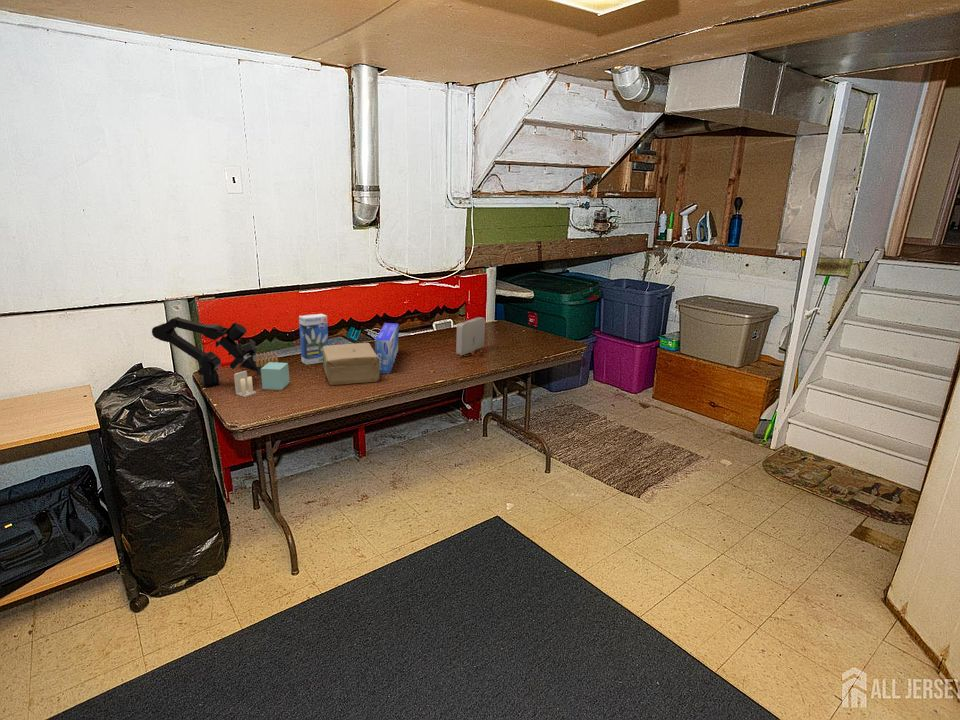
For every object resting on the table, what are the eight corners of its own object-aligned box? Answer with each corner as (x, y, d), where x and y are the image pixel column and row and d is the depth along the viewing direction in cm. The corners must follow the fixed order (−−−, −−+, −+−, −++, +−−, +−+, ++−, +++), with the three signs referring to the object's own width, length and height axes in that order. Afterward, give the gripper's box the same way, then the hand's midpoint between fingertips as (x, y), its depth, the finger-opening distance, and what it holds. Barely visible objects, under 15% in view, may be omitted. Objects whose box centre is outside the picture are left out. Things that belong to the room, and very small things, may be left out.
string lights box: (306, 365, 289) (303, 318, 282) (300, 361, 295) (298, 315, 287) (329, 361, 298) (327, 315, 290) (323, 357, 303) (321, 312, 296)
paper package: (322, 369, 284) (321, 344, 280) (371, 366, 293) (371, 341, 288) (326, 387, 260) (325, 359, 256) (380, 382, 268) (379, 356, 264)
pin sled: (236, 394, 243) (233, 374, 240) (247, 391, 248) (245, 370, 246) (245, 397, 241) (243, 376, 238) (256, 393, 246) (254, 372, 243)
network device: (464, 359, 311) (465, 325, 305) (452, 356, 315) (452, 323, 309) (487, 349, 332) (488, 318, 326) (475, 347, 336) (476, 315, 330)
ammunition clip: (278, 372, 276) (276, 350, 273) (279, 373, 275) (277, 351, 271) (256, 375, 271) (254, 352, 267) (257, 376, 269) (255, 353, 266)
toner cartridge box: (390, 374, 281) (390, 340, 276) (374, 373, 281) (374, 339, 275) (399, 353, 318) (398, 322, 313) (384, 352, 318) (384, 322, 312)
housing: (262, 389, 251) (260, 368, 248) (270, 381, 260) (269, 362, 257) (281, 389, 251) (280, 369, 248) (289, 382, 260) (288, 363, 257)
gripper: (233, 341, 240) (260, 365, 243) (251, 330, 258) (276, 353, 261) (218, 357, 242) (244, 381, 245) (237, 346, 260) (261, 368, 263)
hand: (257, 370), depth 254 cm, fingers closed
